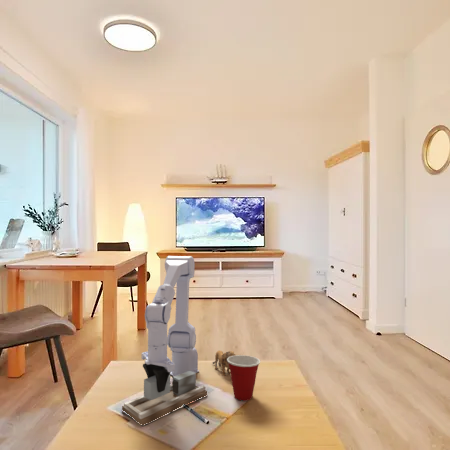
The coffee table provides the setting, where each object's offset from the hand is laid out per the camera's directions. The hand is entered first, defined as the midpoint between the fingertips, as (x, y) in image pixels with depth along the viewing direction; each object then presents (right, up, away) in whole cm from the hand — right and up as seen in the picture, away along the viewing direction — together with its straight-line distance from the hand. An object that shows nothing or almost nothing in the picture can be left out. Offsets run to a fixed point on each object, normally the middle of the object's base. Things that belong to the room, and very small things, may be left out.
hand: (157, 388), depth 102 cm
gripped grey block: (0, -2, 0) cm, 2 cm away
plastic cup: (+26, -6, +7) cm, 28 cm away
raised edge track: (+2, -6, +2) cm, 7 cm away
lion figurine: (+20, -6, +27) cm, 34 cm away
